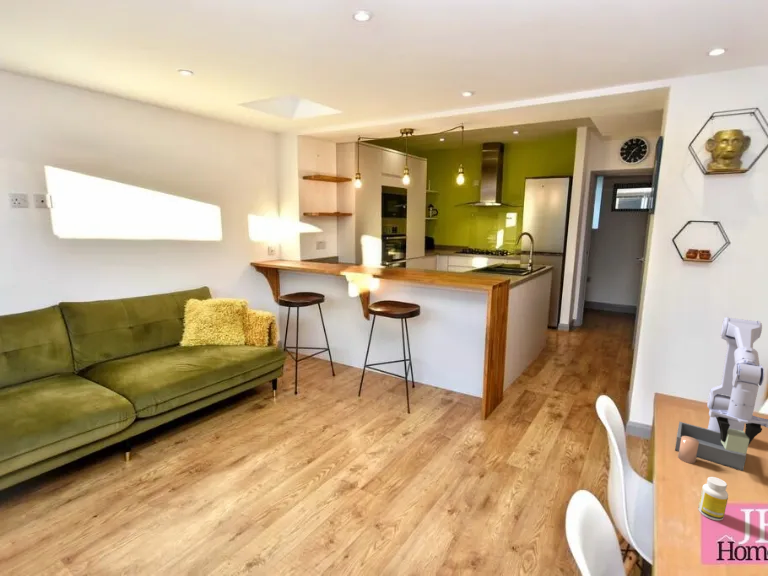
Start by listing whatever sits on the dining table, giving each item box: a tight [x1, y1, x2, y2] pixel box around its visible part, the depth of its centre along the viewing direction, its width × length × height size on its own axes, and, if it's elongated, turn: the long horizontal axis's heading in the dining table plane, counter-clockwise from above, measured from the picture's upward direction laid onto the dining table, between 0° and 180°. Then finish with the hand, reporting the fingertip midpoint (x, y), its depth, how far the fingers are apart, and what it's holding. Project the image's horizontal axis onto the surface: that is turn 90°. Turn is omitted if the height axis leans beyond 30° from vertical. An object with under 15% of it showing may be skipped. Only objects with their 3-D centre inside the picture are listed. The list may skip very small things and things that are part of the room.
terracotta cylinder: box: [677, 436, 699, 465], centre depth 134 cm, size 5×5×7 cm
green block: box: [721, 428, 750, 455], centre depth 128 cm, size 5×5×5 cm
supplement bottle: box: [698, 476, 729, 521], centre depth 109 cm, size 5×5×10 cm
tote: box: [674, 420, 747, 472], centre depth 139 cm, size 18×14×5 cm
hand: (734, 442), depth 128 cm, fingers closed on green block, 5 cm apart
